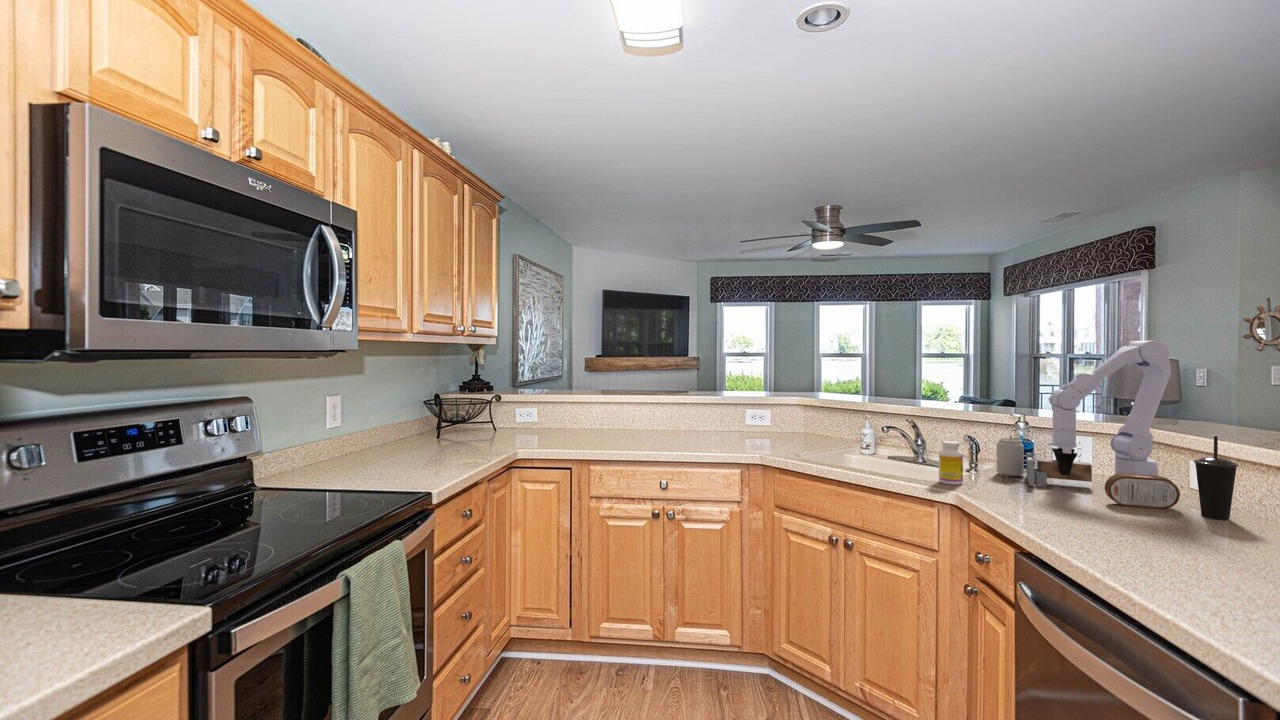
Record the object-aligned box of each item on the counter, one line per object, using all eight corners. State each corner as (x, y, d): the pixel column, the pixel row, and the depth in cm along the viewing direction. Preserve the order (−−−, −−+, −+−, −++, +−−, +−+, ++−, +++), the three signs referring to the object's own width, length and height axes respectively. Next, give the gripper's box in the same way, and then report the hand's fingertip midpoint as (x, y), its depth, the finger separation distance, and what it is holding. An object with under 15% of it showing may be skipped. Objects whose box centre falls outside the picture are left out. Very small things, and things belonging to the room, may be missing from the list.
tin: (1176, 508, 147) (1176, 476, 147) (1181, 511, 144) (1182, 478, 144) (1104, 502, 153) (1104, 471, 153) (1107, 505, 151) (1107, 474, 150)
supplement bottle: (964, 486, 173) (964, 444, 173) (940, 484, 176) (940, 443, 175) (961, 481, 179) (961, 441, 179) (937, 479, 182) (937, 440, 182)
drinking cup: (1230, 524, 134) (1231, 439, 133) (1187, 515, 140) (1188, 435, 140) (1243, 519, 137) (1243, 437, 137) (1201, 511, 144) (1201, 433, 144)
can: (1029, 477, 183) (1029, 440, 183) (1005, 477, 184) (1005, 440, 183) (1014, 472, 191) (1014, 437, 191) (991, 472, 191) (991, 437, 191)
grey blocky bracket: (1042, 478, 181) (1042, 453, 181) (1047, 488, 169) (1047, 460, 169) (1025, 477, 184) (1025, 451, 183) (1028, 486, 171) (1028, 459, 171)
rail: (1089, 479, 171) (1089, 462, 171) (1091, 481, 168) (1091, 464, 167) (1037, 474, 178) (1037, 458, 178) (1038, 477, 174) (1038, 460, 174)
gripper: (1045, 425, 181) (1045, 467, 181) (1050, 431, 168) (1050, 476, 168) (1073, 426, 177) (1073, 469, 177) (1080, 432, 165) (1080, 479, 165)
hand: (1064, 473), depth 173 cm, fingers closed on rail, 4 cm apart
